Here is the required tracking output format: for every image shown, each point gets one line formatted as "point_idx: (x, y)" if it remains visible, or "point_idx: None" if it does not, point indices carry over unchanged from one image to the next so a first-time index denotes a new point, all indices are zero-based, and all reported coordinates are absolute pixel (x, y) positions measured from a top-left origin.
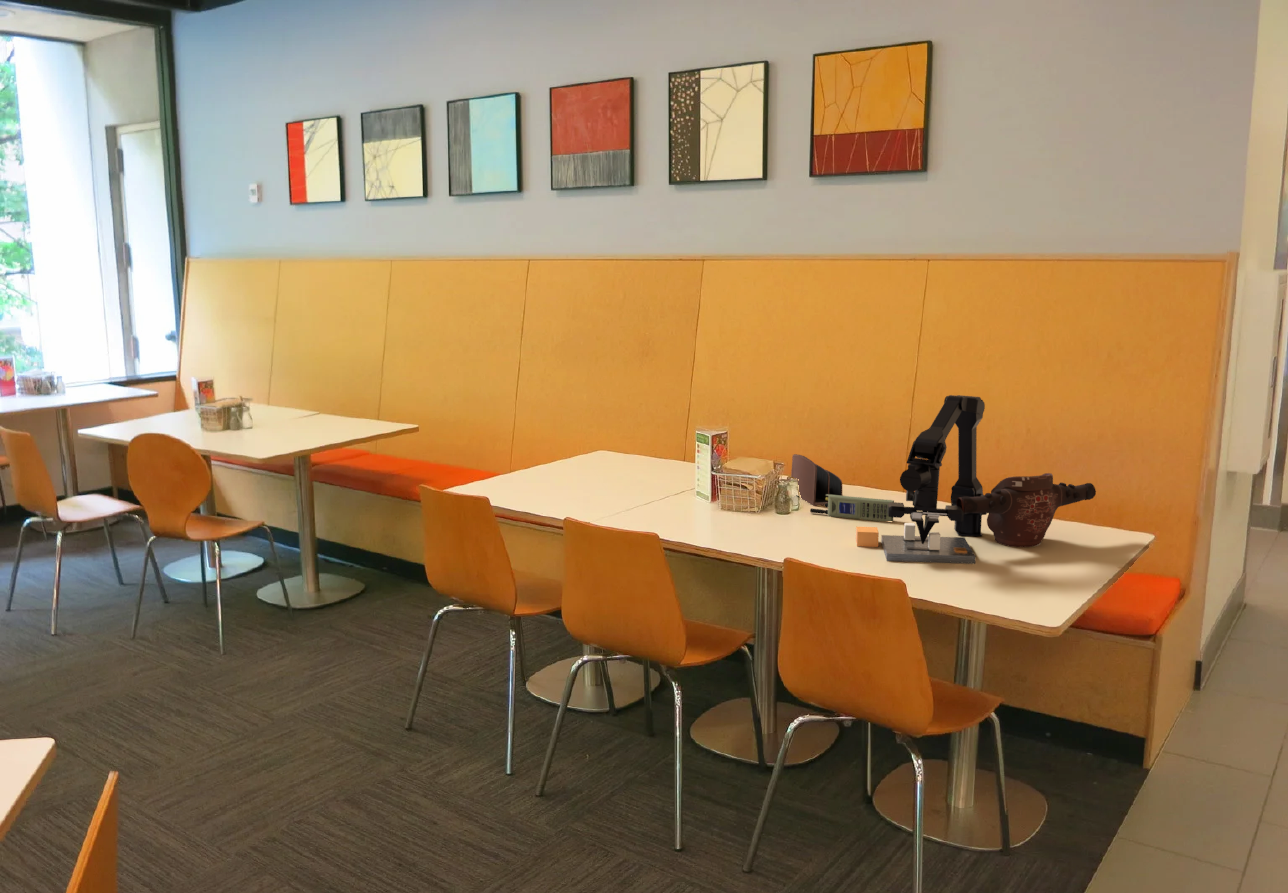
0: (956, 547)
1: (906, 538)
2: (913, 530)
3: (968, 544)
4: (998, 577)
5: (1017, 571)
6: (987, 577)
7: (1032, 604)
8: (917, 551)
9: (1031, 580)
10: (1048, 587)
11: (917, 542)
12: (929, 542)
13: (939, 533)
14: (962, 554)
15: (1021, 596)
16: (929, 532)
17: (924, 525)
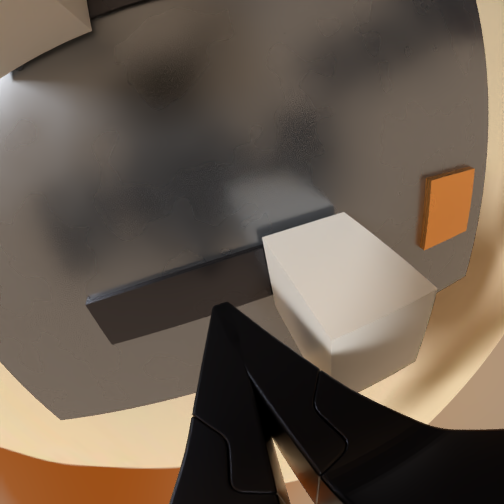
0: (442, 143)
1: (4, 69)
2: (29, 14)
3: (485, 65)
4: (442, 345)
5: (496, 274)
6: (420, 361)
7: (421, 416)
8: (191, 348)
9: (484, 322)
10: (483, 341)
11: (128, 69)
12: (294, 331)
13: (426, 324)
14: (434, 278)
15: (424, 404)
16: (337, 347)
17: (308, 472)
